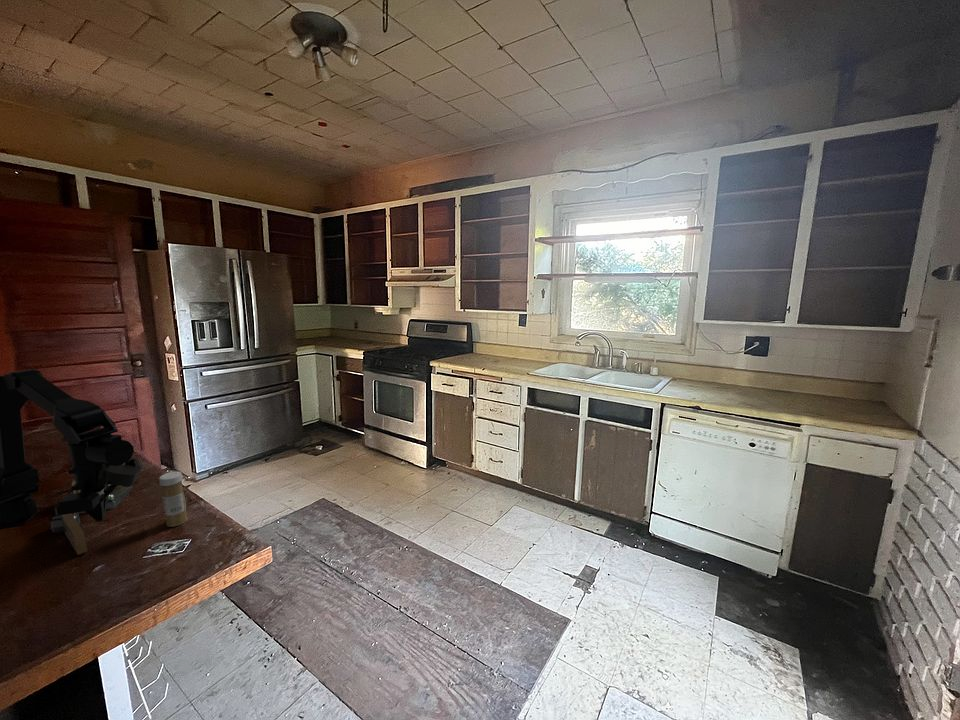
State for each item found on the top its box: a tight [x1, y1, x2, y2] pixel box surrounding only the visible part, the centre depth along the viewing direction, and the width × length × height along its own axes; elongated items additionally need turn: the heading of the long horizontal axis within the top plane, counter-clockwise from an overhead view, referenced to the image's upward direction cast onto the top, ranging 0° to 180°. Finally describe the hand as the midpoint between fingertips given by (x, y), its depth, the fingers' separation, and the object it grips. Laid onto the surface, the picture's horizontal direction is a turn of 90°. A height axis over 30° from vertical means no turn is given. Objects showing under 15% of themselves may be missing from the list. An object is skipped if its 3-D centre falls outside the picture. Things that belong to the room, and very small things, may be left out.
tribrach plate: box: [71, 479, 133, 515], centre depth 112 cm, size 12×12×6 cm
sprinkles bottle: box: [158, 471, 189, 528], centre depth 102 cm, size 5×5×13 cm
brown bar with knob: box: [49, 513, 88, 556], centre depth 96 cm, size 20×5×5 cm, turn 55°
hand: (100, 520), depth 95 cm, fingers closed
